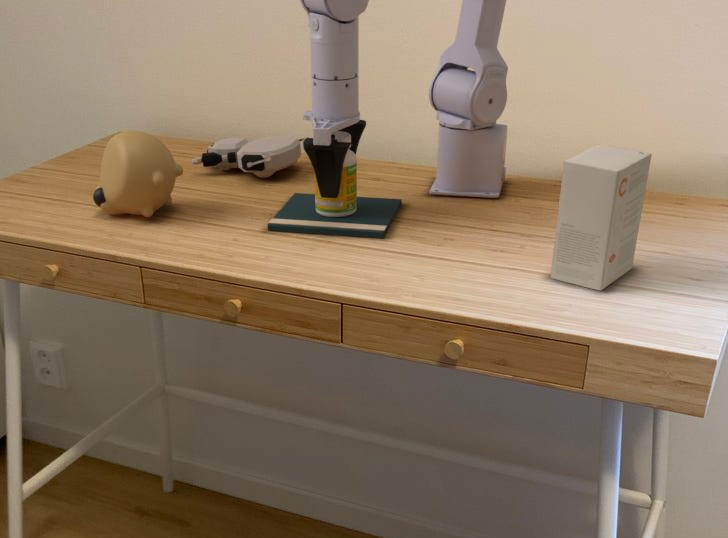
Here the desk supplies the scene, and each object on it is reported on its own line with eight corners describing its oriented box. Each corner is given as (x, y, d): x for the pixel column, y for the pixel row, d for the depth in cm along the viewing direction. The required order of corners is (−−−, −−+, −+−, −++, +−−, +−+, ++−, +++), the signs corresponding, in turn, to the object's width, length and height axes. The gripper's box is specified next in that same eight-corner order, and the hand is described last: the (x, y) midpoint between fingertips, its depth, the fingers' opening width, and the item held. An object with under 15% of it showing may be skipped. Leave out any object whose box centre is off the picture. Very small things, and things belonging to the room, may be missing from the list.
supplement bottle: (352, 219, 118) (352, 141, 113) (311, 217, 119) (309, 140, 114) (359, 205, 122) (359, 129, 117) (320, 203, 123) (318, 128, 118)
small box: (581, 256, 108) (598, 142, 101) (633, 269, 105) (654, 152, 97) (547, 278, 103) (562, 159, 96) (600, 292, 99) (620, 170, 92)
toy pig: (159, 226, 130) (105, 170, 129) (205, 167, 123) (148, 107, 122) (120, 248, 123) (63, 188, 121) (166, 187, 115) (105, 122, 114)
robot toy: (189, 181, 138) (277, 185, 132) (184, 150, 136) (273, 153, 129) (230, 160, 147) (314, 162, 141) (226, 130, 145) (312, 132, 138)
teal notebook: (401, 204, 125) (402, 198, 124) (383, 238, 114) (383, 231, 114) (294, 198, 128) (294, 192, 127) (267, 230, 118) (267, 223, 117)
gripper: (317, 62, 118) (320, 170, 126) (286, 87, 106) (291, 204, 114) (371, 64, 116) (370, 172, 124) (346, 89, 105) (346, 207, 113)
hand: (336, 188), depth 119 cm, fingers open, 7 cm apart
